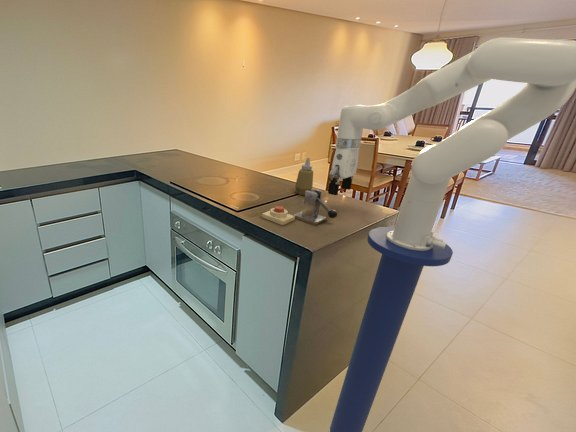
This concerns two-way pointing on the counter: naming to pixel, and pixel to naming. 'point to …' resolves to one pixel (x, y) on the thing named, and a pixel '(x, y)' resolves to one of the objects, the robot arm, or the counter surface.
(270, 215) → the control block
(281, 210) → the button
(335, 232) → the counter surface
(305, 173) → the squeeze bottle
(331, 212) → the lever
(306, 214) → the bracket
